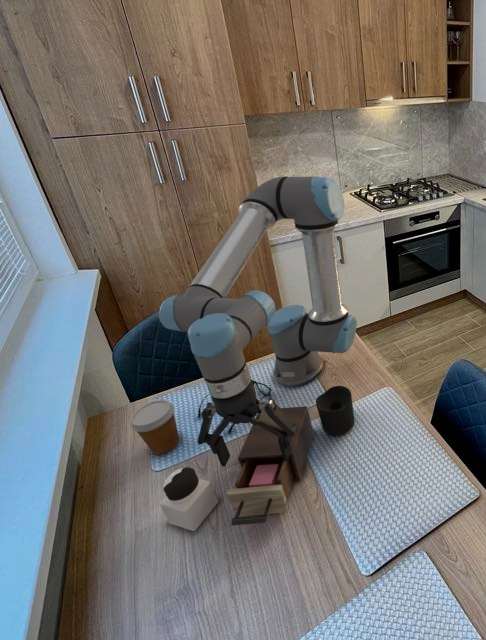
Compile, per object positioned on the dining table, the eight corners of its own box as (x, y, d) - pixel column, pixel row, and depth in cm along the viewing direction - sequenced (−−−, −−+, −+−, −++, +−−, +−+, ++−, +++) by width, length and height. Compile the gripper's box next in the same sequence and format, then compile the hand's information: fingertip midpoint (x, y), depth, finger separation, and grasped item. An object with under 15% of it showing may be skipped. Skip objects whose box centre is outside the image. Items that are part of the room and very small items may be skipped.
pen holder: (323, 414, 117) (317, 388, 113) (356, 409, 119) (351, 383, 114) (320, 441, 109) (314, 414, 105) (355, 435, 110) (351, 408, 106)
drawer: (281, 534, 86) (273, 512, 83) (226, 540, 86) (216, 517, 82) (302, 459, 103) (296, 437, 100) (256, 463, 102) (249, 441, 99)
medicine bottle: (219, 501, 94) (204, 466, 89) (194, 532, 88) (177, 497, 83) (195, 494, 96) (179, 459, 91) (169, 523, 90) (150, 488, 85)
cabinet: (300, 480, 99) (292, 453, 95) (247, 485, 98) (237, 458, 94) (313, 431, 112) (307, 406, 108) (267, 435, 111) (259, 409, 107)
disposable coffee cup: (182, 452, 107) (168, 419, 102) (140, 465, 104) (123, 432, 99) (189, 425, 115) (175, 394, 110) (150, 436, 112) (134, 404, 107)
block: (261, 479, 97) (257, 465, 95) (282, 477, 97) (278, 463, 95) (253, 499, 93) (248, 485, 90) (275, 498, 93) (271, 483, 91)
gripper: (156, 406, 76) (191, 479, 86) (289, 395, 78) (309, 468, 87) (176, 378, 83) (207, 448, 92) (299, 368, 84) (317, 439, 94)
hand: (257, 458), depth 90 cm, fingers open, 13 cm apart
